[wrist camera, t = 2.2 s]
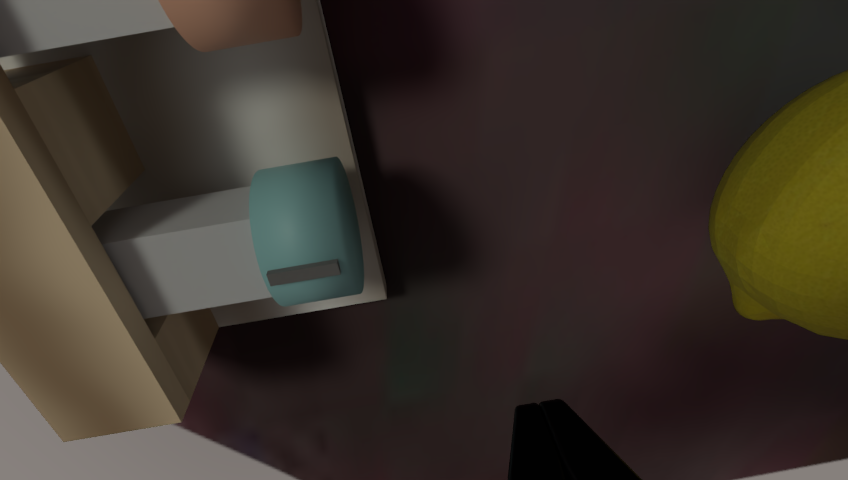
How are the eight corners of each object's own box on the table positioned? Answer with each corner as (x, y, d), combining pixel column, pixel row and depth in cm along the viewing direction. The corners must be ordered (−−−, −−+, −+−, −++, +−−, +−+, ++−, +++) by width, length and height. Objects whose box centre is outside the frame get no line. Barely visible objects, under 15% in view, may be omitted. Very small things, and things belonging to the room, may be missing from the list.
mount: (249, -299, 13) (170, -444, 8) (386, 284, 22) (389, 387, 17) (-186, -220, 13) (-538, -313, 8) (133, 327, 22) (63, 442, 17)
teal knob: (337, 136, 17) (326, 197, 13) (365, 246, 20) (362, 327, 16) (49, 186, 17) (-47, 262, 13) (110, 290, 20) (43, 380, 16)
